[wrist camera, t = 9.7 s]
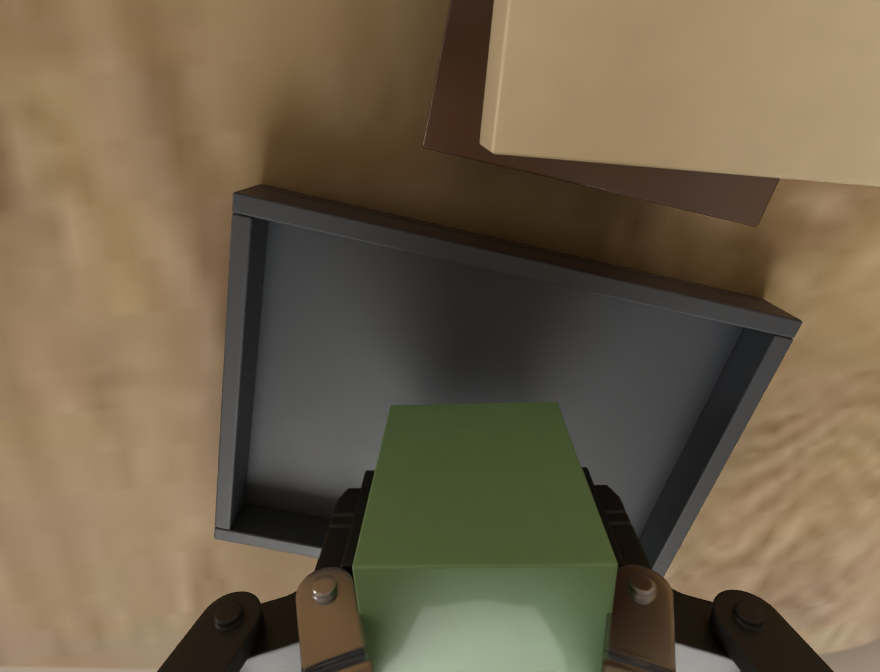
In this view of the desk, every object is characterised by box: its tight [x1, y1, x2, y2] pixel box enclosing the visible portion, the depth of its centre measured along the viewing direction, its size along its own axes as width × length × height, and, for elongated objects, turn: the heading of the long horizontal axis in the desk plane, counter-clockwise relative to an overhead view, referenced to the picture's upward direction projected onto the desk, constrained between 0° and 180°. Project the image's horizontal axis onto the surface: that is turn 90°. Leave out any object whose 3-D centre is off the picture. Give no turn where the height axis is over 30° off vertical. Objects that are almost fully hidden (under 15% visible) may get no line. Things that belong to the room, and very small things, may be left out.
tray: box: [214, 184, 802, 577], centre depth 18 cm, size 13×17×2 cm
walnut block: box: [422, 0, 780, 227], centre depth 12 cm, size 8×8×4 cm
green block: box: [352, 402, 618, 672], centre depth 13 cm, size 5×5×6 cm
